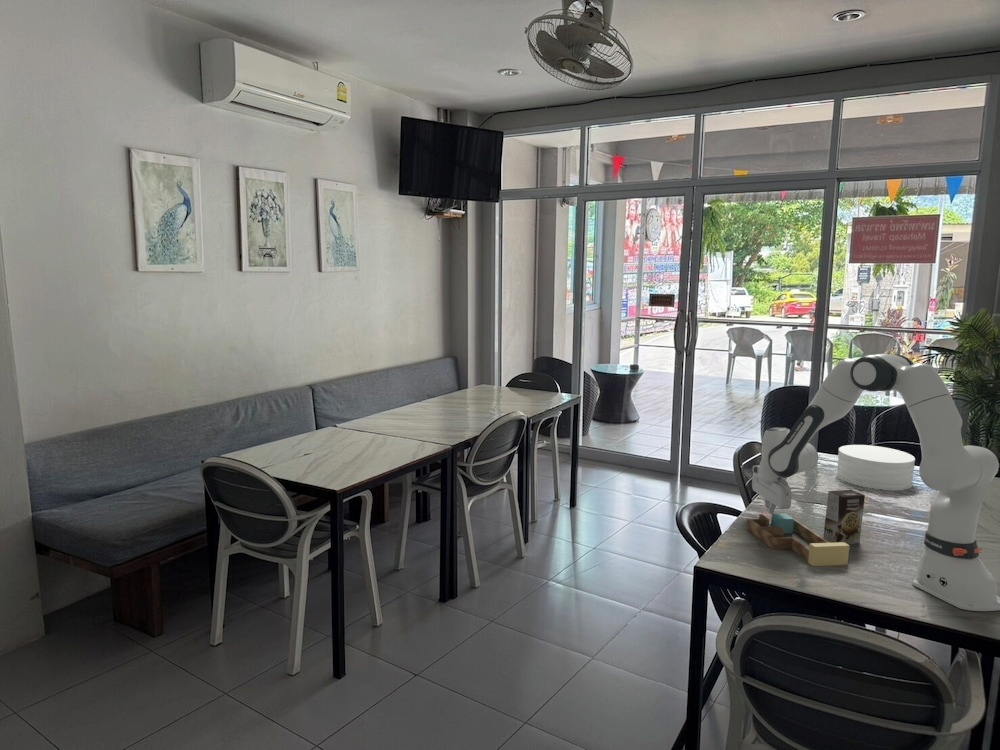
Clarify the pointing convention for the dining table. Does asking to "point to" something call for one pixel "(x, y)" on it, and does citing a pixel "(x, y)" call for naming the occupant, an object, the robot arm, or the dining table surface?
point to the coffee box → (844, 516)
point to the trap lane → (775, 535)
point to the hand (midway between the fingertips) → (769, 512)
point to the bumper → (828, 554)
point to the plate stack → (875, 467)
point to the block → (783, 522)
